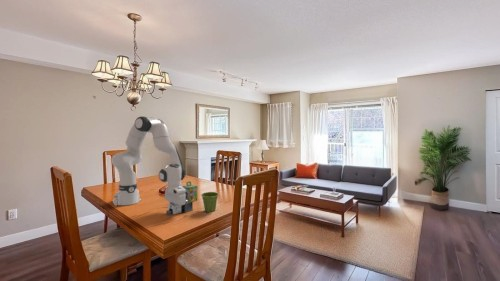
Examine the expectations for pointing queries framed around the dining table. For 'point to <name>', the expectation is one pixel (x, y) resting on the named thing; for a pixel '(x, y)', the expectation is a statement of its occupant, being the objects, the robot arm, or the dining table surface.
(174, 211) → the lock block
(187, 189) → the green patterned lantern
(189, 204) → the coupler
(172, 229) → the dining table surface
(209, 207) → the plant pot
